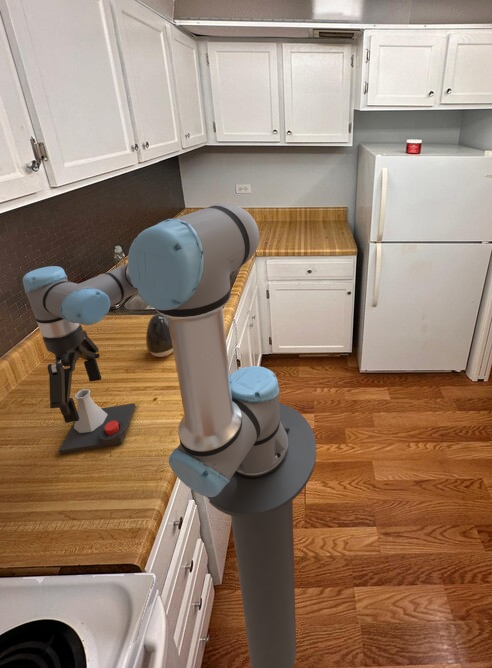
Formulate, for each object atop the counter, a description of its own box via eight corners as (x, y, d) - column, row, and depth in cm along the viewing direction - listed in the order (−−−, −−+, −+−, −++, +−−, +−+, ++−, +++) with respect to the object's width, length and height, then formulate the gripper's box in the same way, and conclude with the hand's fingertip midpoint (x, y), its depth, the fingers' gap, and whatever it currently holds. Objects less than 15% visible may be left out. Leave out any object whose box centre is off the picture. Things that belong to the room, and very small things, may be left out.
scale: (137, 406, 96) (135, 398, 94) (123, 445, 84) (120, 437, 83) (81, 414, 93) (79, 406, 92) (59, 456, 81) (56, 447, 80)
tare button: (120, 424, 87) (119, 419, 86) (117, 434, 84) (115, 429, 84) (108, 426, 86) (106, 421, 86) (104, 436, 84) (102, 431, 83)
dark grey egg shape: (186, 346, 120) (180, 311, 115) (163, 364, 112) (156, 327, 106) (165, 339, 124) (159, 304, 119) (142, 356, 115) (133, 319, 110)
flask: (92, 436, 85) (82, 407, 81) (68, 431, 86) (57, 402, 83) (113, 413, 92) (105, 385, 88) (90, 408, 93) (81, 381, 89)
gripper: (69, 304, 89) (89, 368, 97) (9, 368, 66) (41, 444, 74) (100, 301, 90) (117, 364, 98) (52, 363, 68) (79, 438, 75)
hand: (85, 399), depth 86 cm, fingers open, 13 cm apart
